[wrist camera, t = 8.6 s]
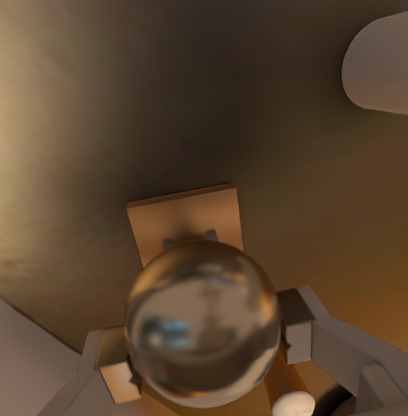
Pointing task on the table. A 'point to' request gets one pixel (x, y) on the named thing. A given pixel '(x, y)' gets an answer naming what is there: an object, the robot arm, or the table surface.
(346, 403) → the vessel
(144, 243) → the holder base
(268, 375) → the milkshake
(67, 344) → the table surface
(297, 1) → the table surface
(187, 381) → the ball topped rod
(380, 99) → the cylindrical container
